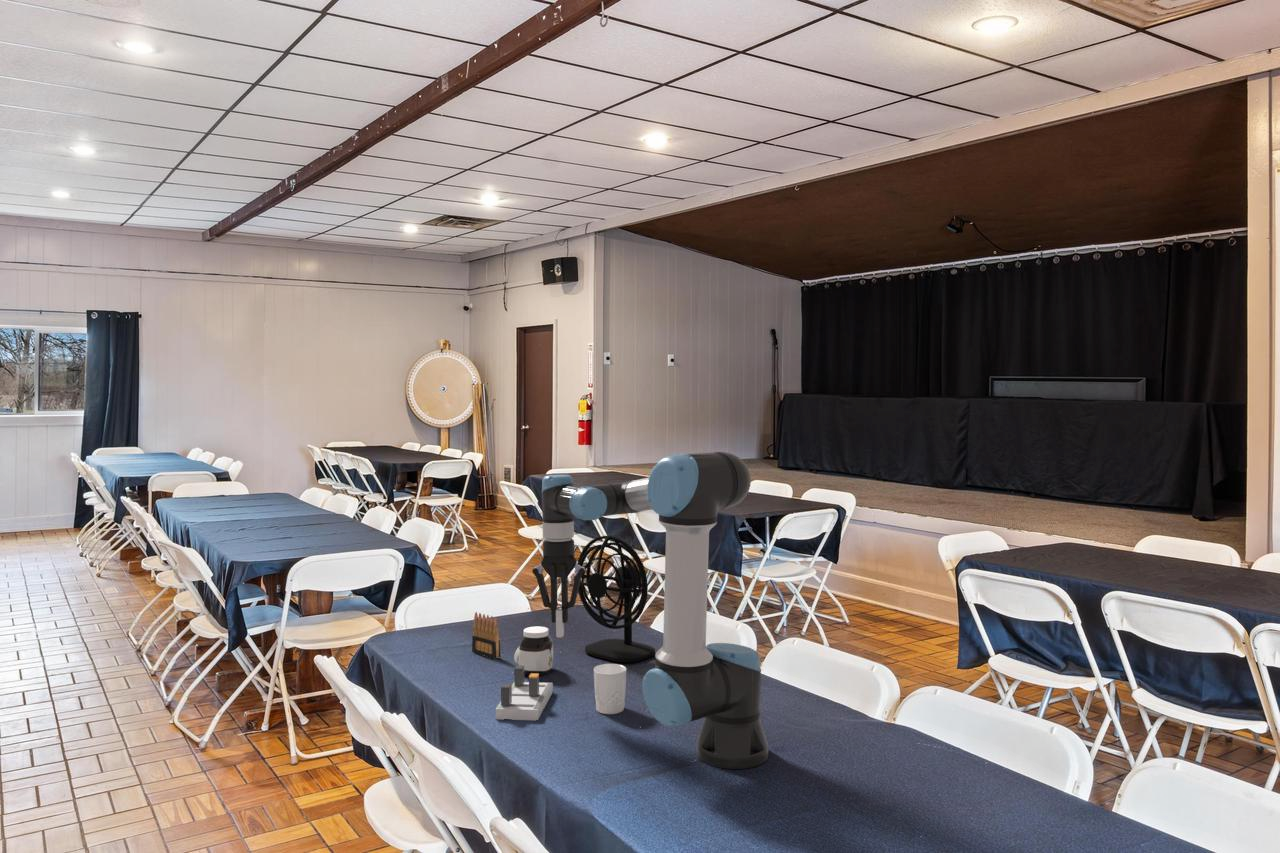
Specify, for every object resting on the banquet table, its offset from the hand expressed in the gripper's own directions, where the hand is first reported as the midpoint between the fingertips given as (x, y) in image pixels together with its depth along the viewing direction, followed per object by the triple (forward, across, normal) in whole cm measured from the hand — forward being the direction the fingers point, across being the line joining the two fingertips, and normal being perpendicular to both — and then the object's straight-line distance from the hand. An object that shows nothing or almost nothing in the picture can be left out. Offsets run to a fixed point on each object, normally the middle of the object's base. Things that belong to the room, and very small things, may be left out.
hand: (560, 635), depth 218 cm
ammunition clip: (+17, +28, -40) cm, 52 cm away
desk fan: (+17, -10, -44) cm, 48 cm away
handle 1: (+15, +12, +6) cm, 20 cm away
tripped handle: (+15, +7, -1) cm, 16 cm away
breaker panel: (+18, +9, -1) cm, 20 cm away
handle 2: (+15, +12, -8) cm, 20 cm away
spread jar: (+17, +12, -28) cm, 35 cm away
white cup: (+18, -12, 0) cm, 22 cm away
